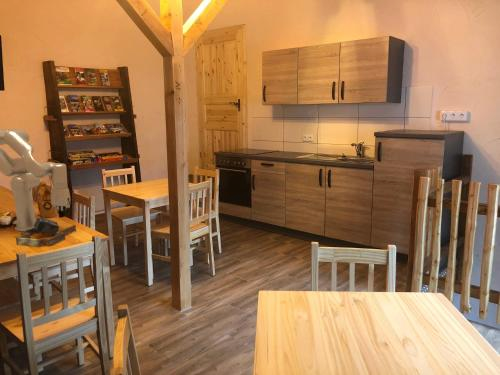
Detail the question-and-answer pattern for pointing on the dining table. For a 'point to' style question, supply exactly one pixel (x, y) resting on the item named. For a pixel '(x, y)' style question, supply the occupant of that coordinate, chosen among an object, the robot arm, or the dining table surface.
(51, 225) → the box
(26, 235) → the trap lane
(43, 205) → the coffee package
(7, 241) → the dining table surface
